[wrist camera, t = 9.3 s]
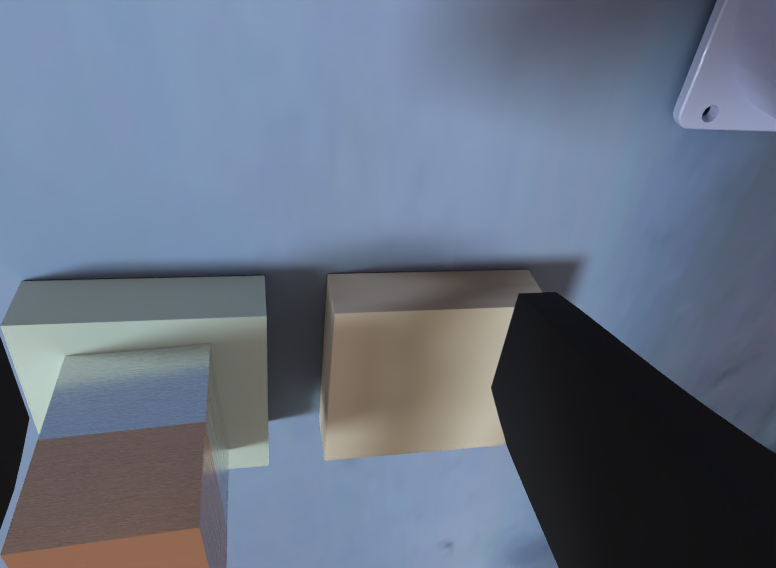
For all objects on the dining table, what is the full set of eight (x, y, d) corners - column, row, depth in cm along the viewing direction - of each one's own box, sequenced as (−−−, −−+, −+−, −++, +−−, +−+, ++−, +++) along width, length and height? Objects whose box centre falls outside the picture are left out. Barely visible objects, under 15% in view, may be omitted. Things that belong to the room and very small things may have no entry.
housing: (228, 449, 21) (225, 631, 17) (105, 464, 21) (65, 657, 16) (210, 342, 18) (198, 527, 14) (64, 355, 17) (0, 555, 13)
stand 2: (528, 269, 21) (551, 306, 20) (487, 406, 26) (503, 445, 24) (327, 274, 20) (334, 313, 18) (319, 418, 24) (324, 460, 23)
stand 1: (264, 275, 20) (266, 316, 18) (267, 422, 24) (268, 465, 22) (21, 281, 18) (0, 326, 16) (69, 436, 22) (56, 483, 21)
